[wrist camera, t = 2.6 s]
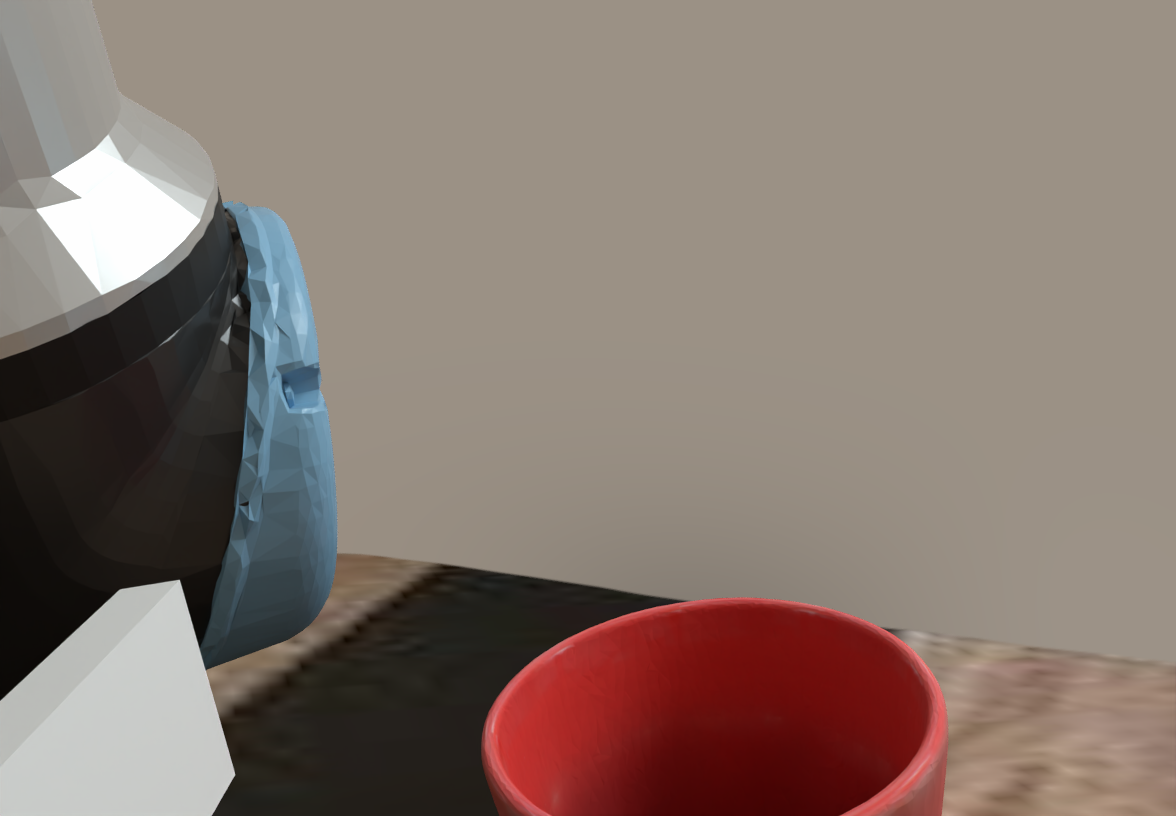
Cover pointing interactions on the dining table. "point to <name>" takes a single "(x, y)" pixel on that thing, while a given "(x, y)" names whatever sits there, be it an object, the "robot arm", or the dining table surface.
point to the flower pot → (721, 718)
